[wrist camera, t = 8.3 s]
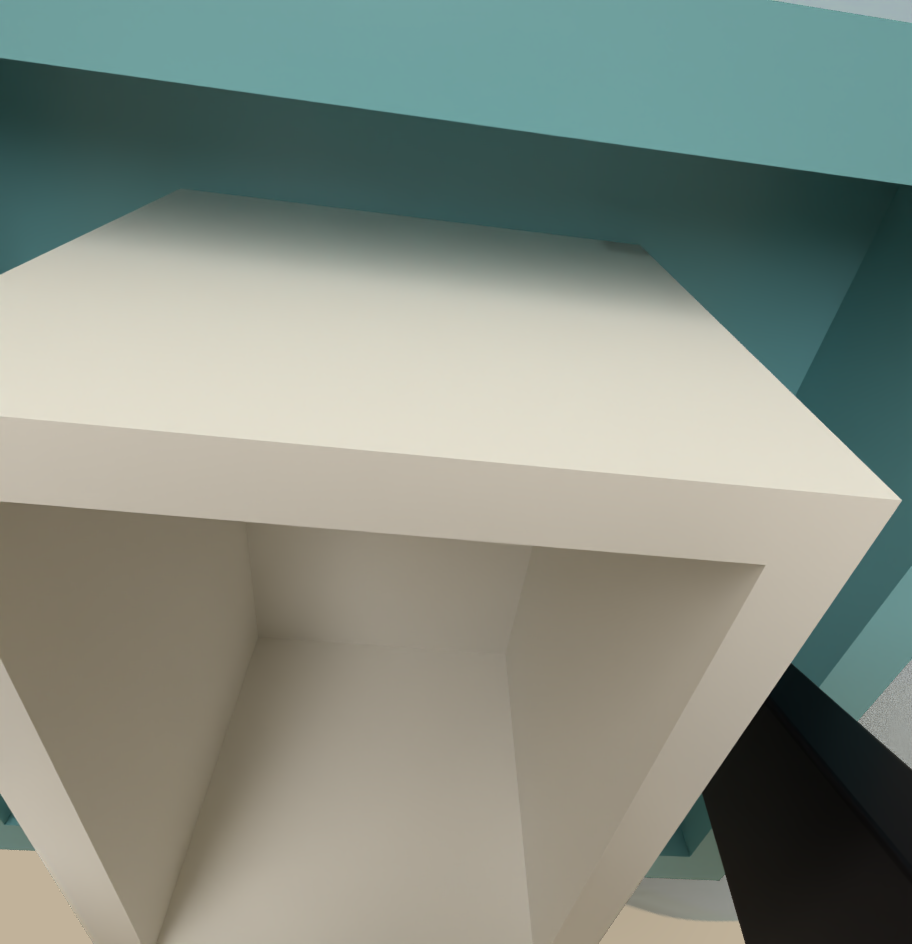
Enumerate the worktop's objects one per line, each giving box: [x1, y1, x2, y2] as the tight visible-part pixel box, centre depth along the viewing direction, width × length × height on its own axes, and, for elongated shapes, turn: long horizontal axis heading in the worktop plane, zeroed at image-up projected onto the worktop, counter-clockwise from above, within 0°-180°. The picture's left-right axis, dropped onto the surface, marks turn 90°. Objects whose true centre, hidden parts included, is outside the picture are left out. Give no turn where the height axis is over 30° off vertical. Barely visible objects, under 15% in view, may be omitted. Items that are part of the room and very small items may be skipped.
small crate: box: [0, 189, 902, 944], centre depth 8 cm, size 6×9×6 cm
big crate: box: [0, 0, 912, 881], centre depth 10 cm, size 15×14×4 cm
